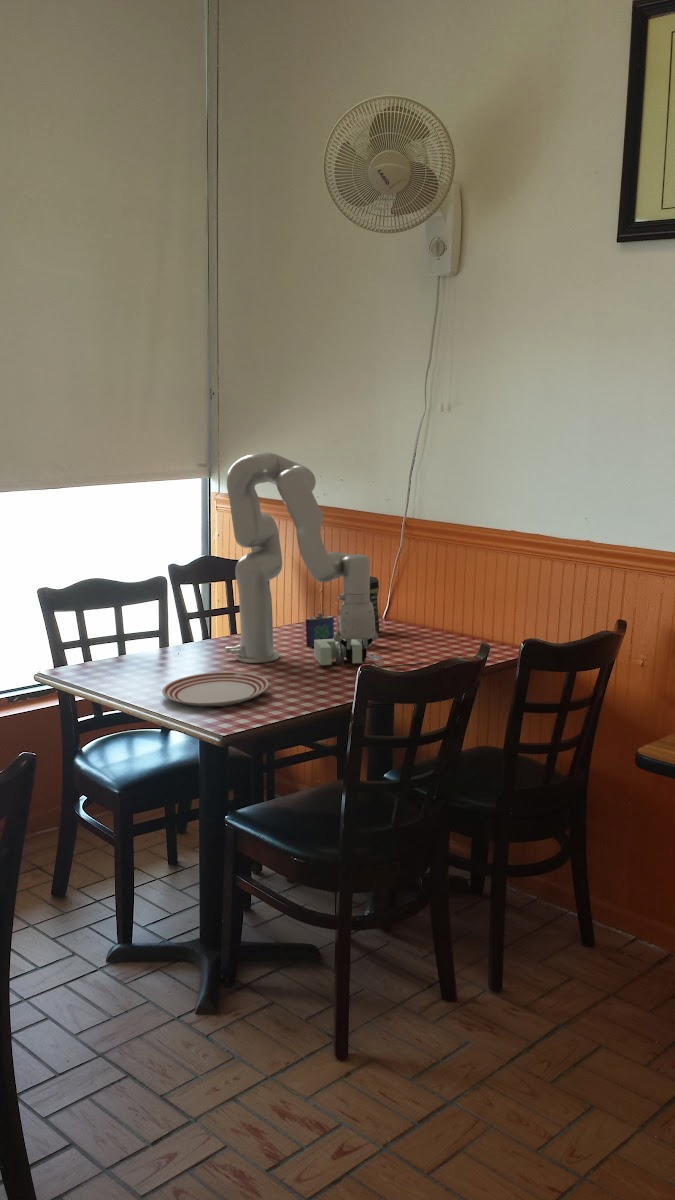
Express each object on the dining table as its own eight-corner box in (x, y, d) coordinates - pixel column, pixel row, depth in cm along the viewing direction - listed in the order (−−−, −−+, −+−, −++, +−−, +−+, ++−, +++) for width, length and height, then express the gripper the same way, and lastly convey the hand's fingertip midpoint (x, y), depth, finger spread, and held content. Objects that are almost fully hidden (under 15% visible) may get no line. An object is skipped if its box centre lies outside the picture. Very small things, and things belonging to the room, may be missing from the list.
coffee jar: (364, 638, 339) (363, 580, 335) (345, 634, 344) (344, 577, 341) (384, 632, 346) (383, 576, 342) (365, 629, 351) (364, 573, 348)
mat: (378, 667, 303) (378, 666, 303) (366, 655, 316) (366, 654, 316) (422, 664, 306) (422, 662, 306) (408, 652, 319) (408, 651, 319)
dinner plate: (213, 720, 259) (212, 706, 258) (140, 700, 276) (140, 688, 276) (290, 694, 279) (290, 682, 278) (218, 677, 297) (218, 666, 296)
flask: (332, 643, 333) (331, 609, 331) (336, 645, 331) (335, 611, 328) (305, 646, 330) (304, 612, 327) (308, 648, 327) (307, 614, 325)
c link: (314, 656, 311) (314, 639, 310) (354, 654, 314) (354, 637, 313) (320, 665, 302) (320, 647, 301) (362, 662, 304) (362, 645, 303)
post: (336, 665, 306) (336, 643, 305) (335, 663, 309) (334, 641, 308) (345, 664, 307) (344, 642, 306) (343, 662, 309) (342, 640, 308)
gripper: (330, 602, 296) (330, 666, 300) (387, 599, 299) (387, 663, 303) (325, 597, 303) (325, 659, 307) (381, 594, 307) (380, 656, 310)
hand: (356, 660), depth 305 cm, fingers closed on c link, 3 cm apart
